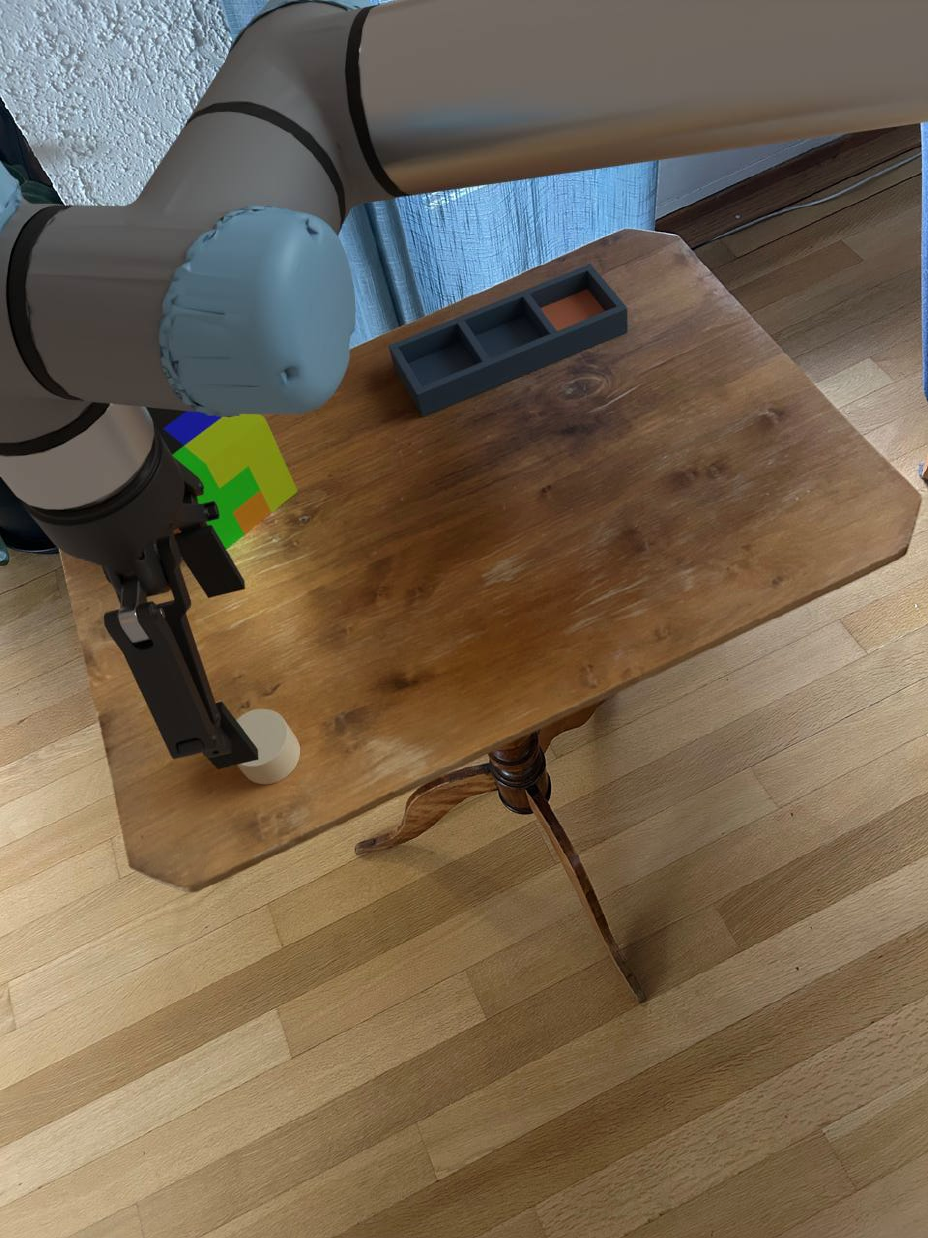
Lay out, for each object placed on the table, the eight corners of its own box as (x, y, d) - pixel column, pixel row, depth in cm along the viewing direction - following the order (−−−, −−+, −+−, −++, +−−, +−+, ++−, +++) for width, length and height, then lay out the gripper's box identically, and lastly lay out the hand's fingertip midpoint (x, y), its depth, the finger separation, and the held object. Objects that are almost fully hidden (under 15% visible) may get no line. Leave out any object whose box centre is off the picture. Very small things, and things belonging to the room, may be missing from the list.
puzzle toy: (237, 443, 100) (200, 369, 92) (298, 491, 95) (265, 417, 87) (158, 504, 97) (113, 433, 89) (216, 556, 92) (175, 487, 84)
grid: (627, 332, 100) (627, 307, 98) (422, 417, 98) (416, 394, 95) (591, 287, 105) (590, 262, 102) (394, 367, 102) (388, 344, 100)
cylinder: (308, 768, 79) (295, 749, 76) (249, 794, 78) (234, 777, 76) (290, 718, 82) (277, 698, 79) (233, 743, 81) (218, 724, 78)
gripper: (27, 315, 56) (173, 540, 74) (-8, 690, 42) (183, 857, 60) (155, 283, 56) (271, 516, 74) (162, 648, 42) (303, 828, 60)
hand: (231, 669), depth 67 cm, fingers open, 13 cm apart
